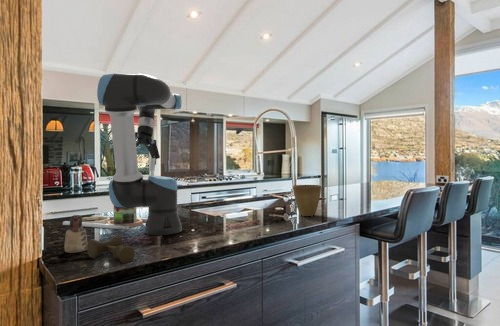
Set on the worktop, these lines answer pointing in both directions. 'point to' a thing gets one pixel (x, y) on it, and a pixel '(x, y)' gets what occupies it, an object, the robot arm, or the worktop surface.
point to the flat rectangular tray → (102, 222)
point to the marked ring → (138, 222)
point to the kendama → (111, 249)
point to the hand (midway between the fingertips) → (141, 167)
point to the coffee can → (124, 215)
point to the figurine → (76, 236)
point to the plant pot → (307, 198)
